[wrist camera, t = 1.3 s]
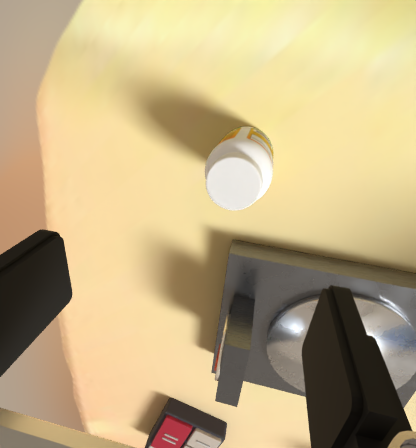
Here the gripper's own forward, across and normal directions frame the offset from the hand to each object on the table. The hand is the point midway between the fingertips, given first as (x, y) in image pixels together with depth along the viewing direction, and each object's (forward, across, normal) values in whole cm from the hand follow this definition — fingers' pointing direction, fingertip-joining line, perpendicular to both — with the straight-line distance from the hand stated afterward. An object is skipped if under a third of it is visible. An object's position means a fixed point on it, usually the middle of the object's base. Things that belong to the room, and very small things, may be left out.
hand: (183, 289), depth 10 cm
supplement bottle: (+21, 0, 0) cm, 21 cm away
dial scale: (+21, -12, +20) cm, 31 cm away
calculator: (+22, +3, +52) cm, 57 cm away
